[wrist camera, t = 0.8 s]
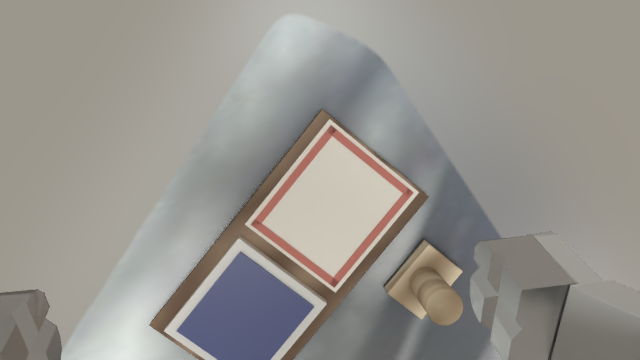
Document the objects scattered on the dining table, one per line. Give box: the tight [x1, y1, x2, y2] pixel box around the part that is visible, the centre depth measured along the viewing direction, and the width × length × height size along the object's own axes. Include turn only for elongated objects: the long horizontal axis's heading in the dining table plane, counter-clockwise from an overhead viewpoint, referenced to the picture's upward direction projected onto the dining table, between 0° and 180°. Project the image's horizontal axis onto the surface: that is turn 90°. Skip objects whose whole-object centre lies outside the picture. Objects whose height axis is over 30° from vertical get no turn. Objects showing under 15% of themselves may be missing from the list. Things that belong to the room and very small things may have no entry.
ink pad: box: [164, 235, 327, 360], centre depth 56 cm, size 12×13×2 cm
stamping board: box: [149, 109, 429, 360], centre depth 57 cm, size 15×30×1 cm, turn 141°
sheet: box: [245, 119, 419, 293], centre depth 56 cm, size 13×14×1 cm
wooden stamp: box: [384, 239, 463, 325], centre depth 54 cm, size 5×7×9 cm
